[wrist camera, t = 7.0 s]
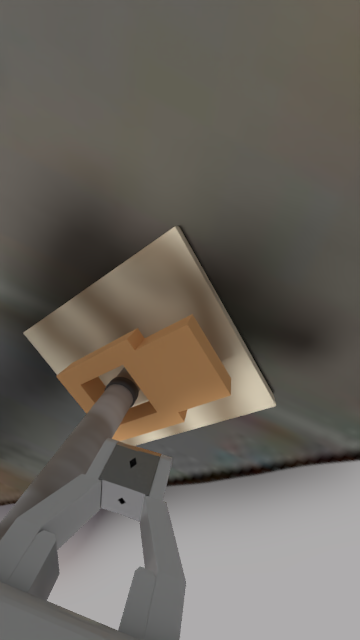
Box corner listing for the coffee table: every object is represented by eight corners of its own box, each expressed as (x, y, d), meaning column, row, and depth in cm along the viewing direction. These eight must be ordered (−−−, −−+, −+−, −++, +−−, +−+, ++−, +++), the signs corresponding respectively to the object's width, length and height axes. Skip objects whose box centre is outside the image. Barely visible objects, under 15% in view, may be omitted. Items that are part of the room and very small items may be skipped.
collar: (121, 426, 22) (111, 443, 20) (71, 363, 20) (56, 376, 19) (236, 387, 17) (237, 405, 16) (185, 302, 16) (179, 311, 14)
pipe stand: (123, 439, 29) (1, 675, 14) (34, 327, 25) (-276, 478, 10) (273, 394, 22) (373, 793, 6) (179, 226, 18) (-146, 200, 2)
